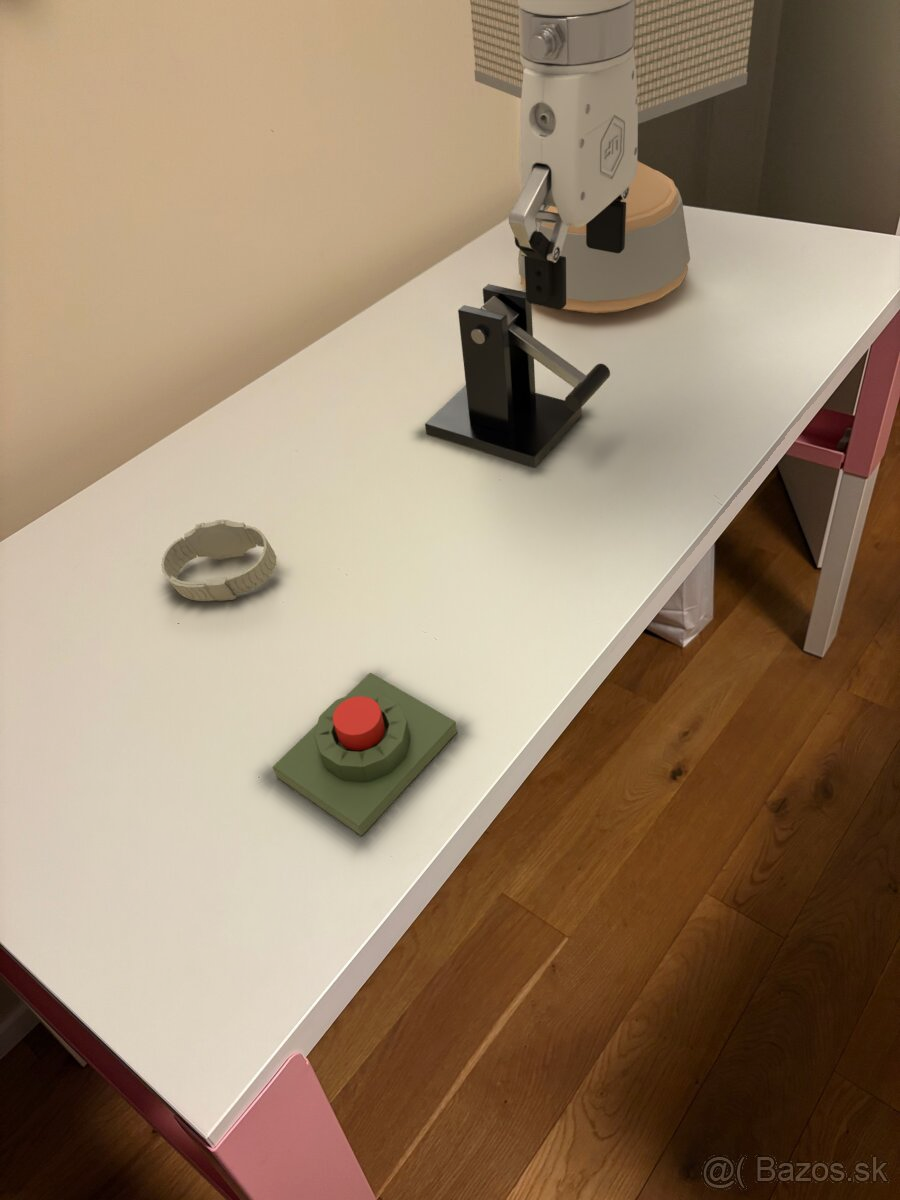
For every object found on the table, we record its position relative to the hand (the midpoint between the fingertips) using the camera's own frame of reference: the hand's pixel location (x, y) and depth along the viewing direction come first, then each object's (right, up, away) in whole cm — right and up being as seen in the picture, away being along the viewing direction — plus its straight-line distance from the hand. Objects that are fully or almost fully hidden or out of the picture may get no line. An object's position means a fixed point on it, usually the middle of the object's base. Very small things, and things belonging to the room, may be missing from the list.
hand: (576, 276), depth 75 cm
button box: (-16, -36, -9) cm, 40 cm away
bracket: (-5, -9, +16) cm, 19 cm away
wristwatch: (-29, -24, +5) cm, 38 cm away
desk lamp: (+7, +10, +33) cm, 36 cm away
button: (-16, -34, -11) cm, 39 cm away
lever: (-3, -4, +9) cm, 10 cm away
